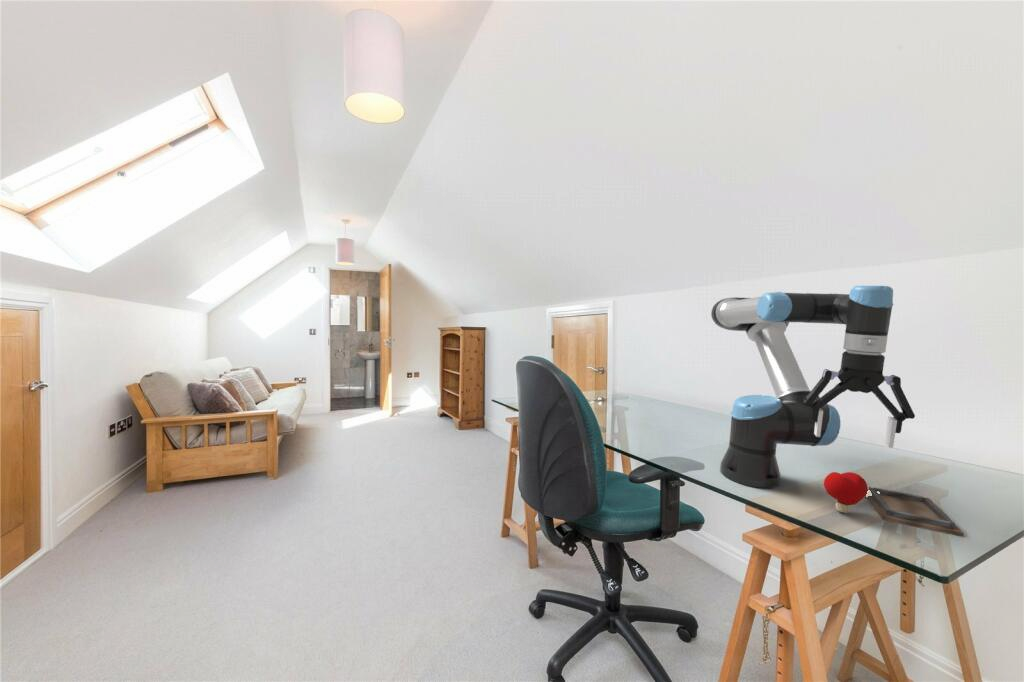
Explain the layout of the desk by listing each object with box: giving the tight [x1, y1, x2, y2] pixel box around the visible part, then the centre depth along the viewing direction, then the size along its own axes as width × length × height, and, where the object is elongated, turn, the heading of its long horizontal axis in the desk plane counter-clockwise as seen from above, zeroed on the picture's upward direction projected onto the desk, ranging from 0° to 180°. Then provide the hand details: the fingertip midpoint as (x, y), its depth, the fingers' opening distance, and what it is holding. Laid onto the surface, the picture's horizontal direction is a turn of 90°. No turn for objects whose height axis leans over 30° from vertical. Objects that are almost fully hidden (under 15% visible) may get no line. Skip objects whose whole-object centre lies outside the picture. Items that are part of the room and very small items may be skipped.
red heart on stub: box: [823, 471, 869, 515], centre depth 99 cm, size 9×7×10 cm
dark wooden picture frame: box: [866, 486, 965, 537], centre depth 101 cm, size 14×16×2 cm
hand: (851, 440), depth 98 cm, fingers open, 13 cm apart
